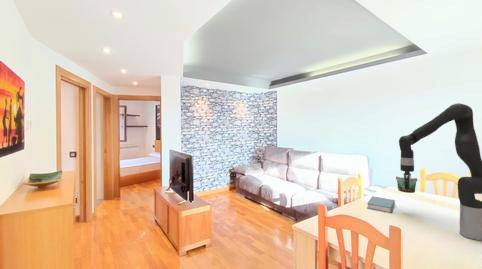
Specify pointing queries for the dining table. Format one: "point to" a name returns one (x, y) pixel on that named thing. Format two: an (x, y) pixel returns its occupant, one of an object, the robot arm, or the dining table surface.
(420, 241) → the dining table surface
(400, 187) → the food container
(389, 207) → the book
